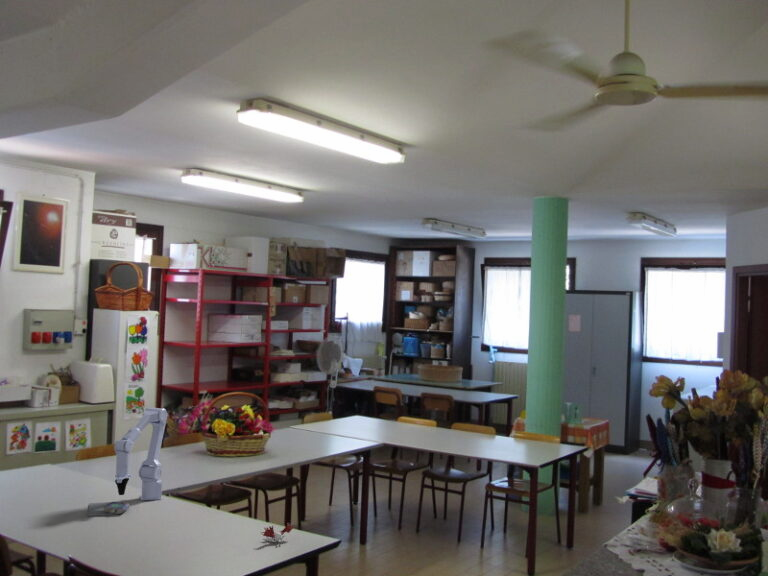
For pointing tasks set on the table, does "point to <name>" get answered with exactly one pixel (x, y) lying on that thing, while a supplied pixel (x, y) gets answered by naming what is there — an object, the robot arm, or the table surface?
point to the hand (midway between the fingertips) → (121, 494)
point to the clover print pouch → (116, 507)
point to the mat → (98, 509)
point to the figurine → (276, 535)
